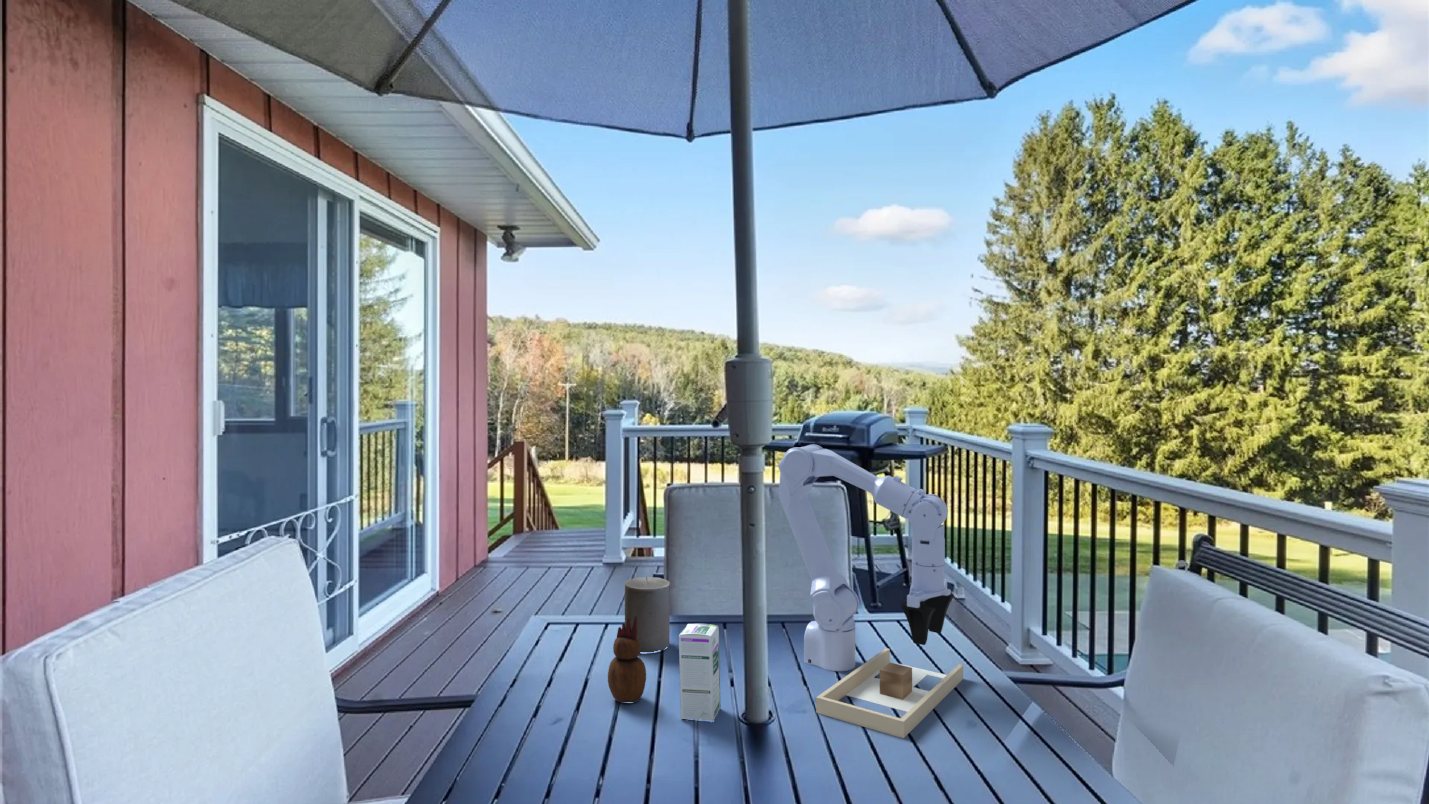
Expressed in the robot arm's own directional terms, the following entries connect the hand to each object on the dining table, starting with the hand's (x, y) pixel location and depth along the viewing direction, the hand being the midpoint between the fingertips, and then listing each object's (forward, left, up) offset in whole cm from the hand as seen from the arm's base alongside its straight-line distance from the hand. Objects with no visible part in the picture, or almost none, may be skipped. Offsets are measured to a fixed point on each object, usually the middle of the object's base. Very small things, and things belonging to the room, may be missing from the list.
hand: (927, 637), depth 132 cm
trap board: (-3, -9, -9) cm, 13 cm away
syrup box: (-27, -32, -10) cm, 43 cm away
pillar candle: (-56, -13, -10) cm, 58 cm away
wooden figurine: (-41, -35, -10) cm, 55 cm away
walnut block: (-3, -8, -8) cm, 12 cm away
